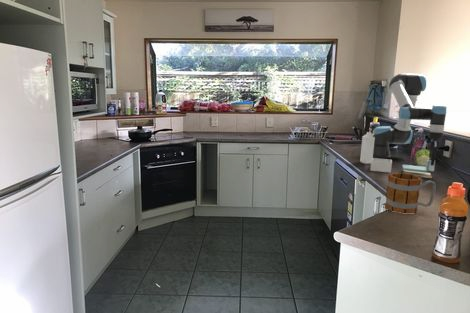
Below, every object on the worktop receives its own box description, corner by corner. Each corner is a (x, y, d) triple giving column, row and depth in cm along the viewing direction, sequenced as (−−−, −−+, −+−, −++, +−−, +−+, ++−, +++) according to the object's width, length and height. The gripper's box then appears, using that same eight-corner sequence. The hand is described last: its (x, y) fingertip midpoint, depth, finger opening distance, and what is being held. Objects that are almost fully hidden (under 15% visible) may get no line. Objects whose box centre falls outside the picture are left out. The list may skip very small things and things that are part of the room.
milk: (367, 162, 248) (370, 131, 244) (372, 164, 242) (375, 133, 238) (359, 162, 247) (362, 131, 243) (364, 164, 241) (367, 133, 237)
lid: (402, 166, 223) (403, 156, 222) (432, 169, 217) (433, 159, 216) (402, 169, 213) (404, 160, 212) (434, 172, 207) (435, 162, 206)
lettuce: (412, 169, 231) (414, 152, 229) (413, 163, 249) (415, 147, 247) (432, 171, 226) (434, 154, 224) (431, 165, 244) (434, 149, 242)
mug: (388, 213, 148) (392, 179, 145) (381, 203, 161) (384, 171, 158) (438, 217, 145) (443, 182, 142) (427, 206, 158) (431, 174, 155)
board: (403, 171, 224) (403, 170, 224) (429, 174, 218) (430, 172, 218) (404, 175, 214) (404, 173, 214) (431, 178, 208) (431, 176, 208)
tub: (370, 168, 230) (372, 157, 229) (390, 170, 226) (391, 159, 224) (370, 171, 221) (371, 160, 220) (390, 173, 217) (391, 162, 215)
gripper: (427, 129, 217) (422, 166, 222) (430, 132, 201) (425, 171, 206) (441, 130, 214) (436, 167, 219) (445, 133, 198) (439, 173, 203)
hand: (430, 169), depth 212 cm, fingers closed on lid, 4 cm apart
